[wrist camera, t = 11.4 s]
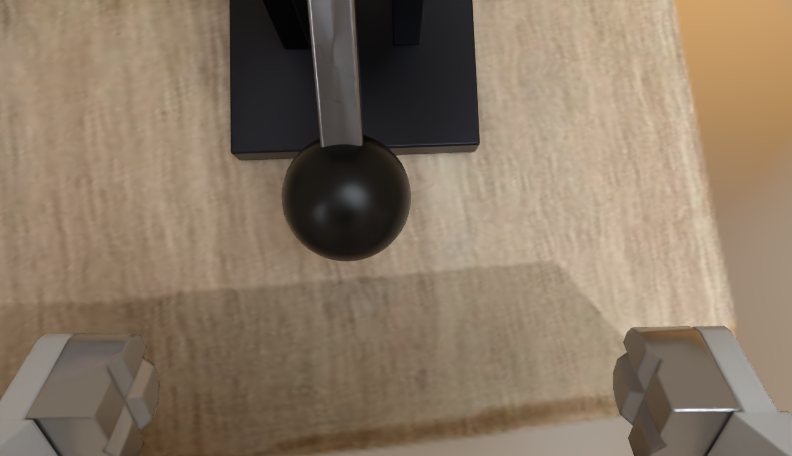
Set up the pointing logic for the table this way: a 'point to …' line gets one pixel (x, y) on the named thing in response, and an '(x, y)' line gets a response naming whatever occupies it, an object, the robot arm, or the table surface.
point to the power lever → (343, 154)
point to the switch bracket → (379, 76)
